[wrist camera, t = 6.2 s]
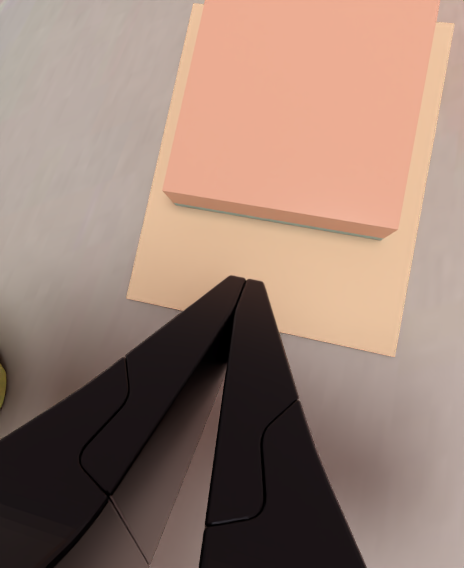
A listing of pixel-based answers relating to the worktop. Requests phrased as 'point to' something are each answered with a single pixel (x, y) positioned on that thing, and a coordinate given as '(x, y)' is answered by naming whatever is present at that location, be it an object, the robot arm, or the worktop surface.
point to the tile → (303, 112)
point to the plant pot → (2, 384)
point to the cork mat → (290, 243)
